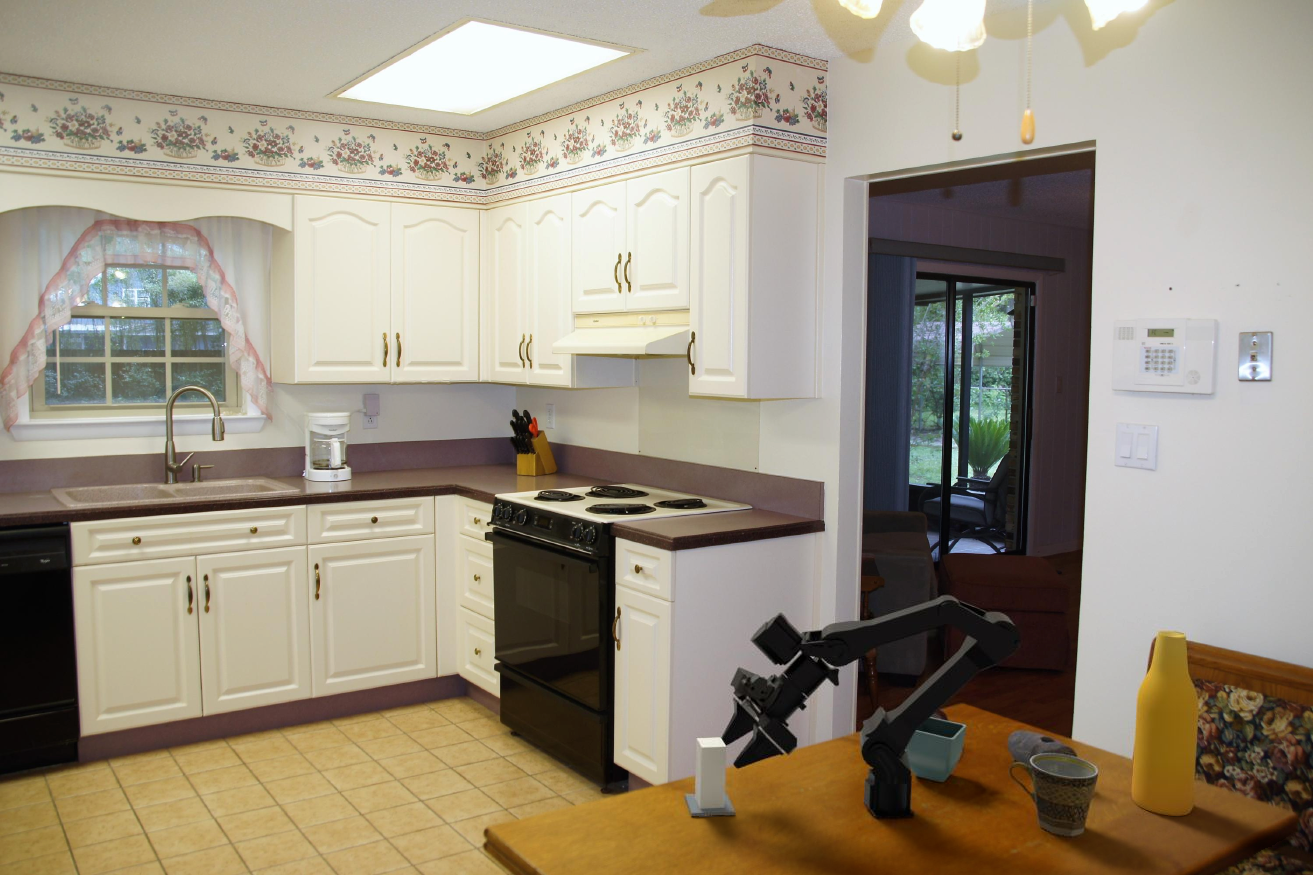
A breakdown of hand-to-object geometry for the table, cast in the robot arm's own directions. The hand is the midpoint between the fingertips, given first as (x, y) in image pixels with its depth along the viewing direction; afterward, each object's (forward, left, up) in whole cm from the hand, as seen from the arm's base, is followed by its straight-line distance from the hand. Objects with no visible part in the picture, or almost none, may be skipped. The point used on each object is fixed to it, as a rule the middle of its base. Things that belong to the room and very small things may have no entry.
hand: (727, 755), depth 159 cm
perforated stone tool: (-59, -11, -9) cm, 61 cm away
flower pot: (-39, -10, -9) cm, 41 cm away
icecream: (-45, -27, -9) cm, 53 cm away
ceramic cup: (-50, +10, -9) cm, 52 cm away
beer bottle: (-73, +4, -9) cm, 74 cm away
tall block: (+3, 0, -8) cm, 8 cm away
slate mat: (+3, 0, -8) cm, 9 cm away
